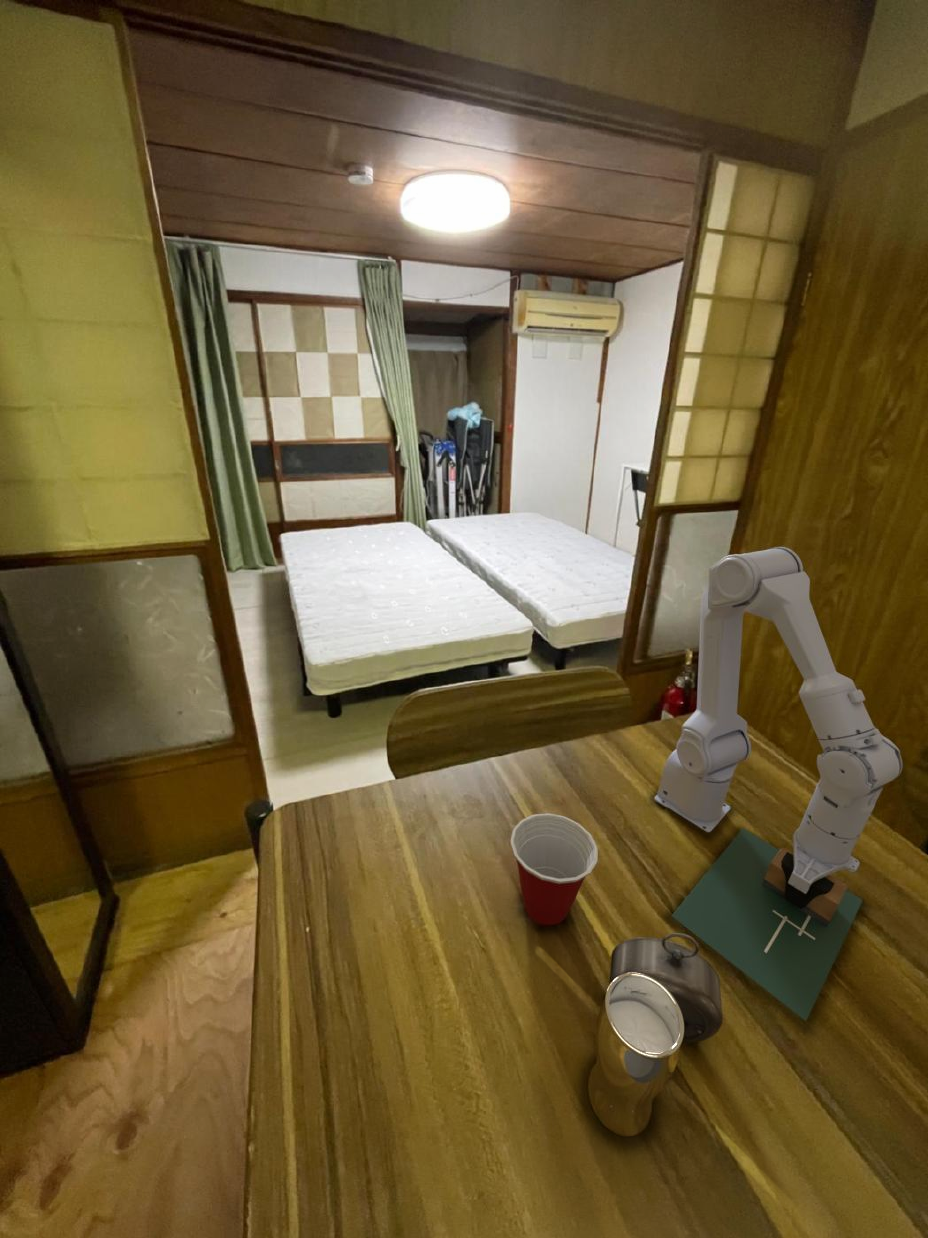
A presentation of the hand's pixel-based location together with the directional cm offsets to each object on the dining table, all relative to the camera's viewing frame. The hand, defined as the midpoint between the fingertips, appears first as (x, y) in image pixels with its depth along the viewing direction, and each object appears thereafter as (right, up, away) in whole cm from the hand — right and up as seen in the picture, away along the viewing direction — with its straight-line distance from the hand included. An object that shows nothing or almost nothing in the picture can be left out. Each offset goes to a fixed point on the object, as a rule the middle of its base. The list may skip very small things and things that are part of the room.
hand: (800, 892), depth 70 cm
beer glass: (-30, -10, -19) cm, 37 cm away
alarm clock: (-25, -8, -13) cm, 29 cm away
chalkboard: (-5, -2, -1) cm, 5 cm away
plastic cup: (-35, -1, -1) cm, 35 cm away
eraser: (0, -1, 0) cm, 1 cm away
